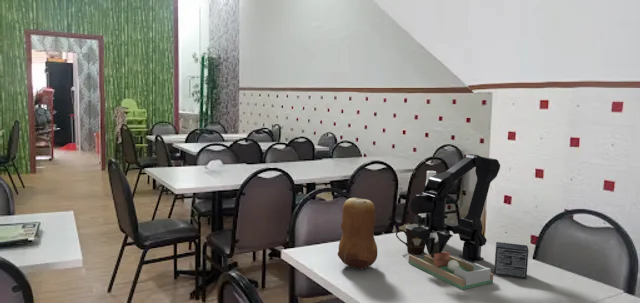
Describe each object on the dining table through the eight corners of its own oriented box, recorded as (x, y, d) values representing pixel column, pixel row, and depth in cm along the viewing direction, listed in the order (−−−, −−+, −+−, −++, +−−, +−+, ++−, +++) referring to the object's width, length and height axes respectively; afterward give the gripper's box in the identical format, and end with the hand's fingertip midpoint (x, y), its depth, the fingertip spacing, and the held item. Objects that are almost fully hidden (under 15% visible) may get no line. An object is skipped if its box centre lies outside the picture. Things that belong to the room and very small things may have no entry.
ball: (453, 268, 171) (453, 257, 171) (461, 272, 168) (462, 261, 167) (444, 270, 169) (445, 259, 169) (452, 274, 166) (453, 263, 166)
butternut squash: (369, 259, 181) (371, 194, 178) (382, 272, 168) (385, 202, 165) (333, 261, 178) (335, 195, 175) (343, 275, 165) (346, 203, 162)
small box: (525, 273, 172) (527, 244, 171) (526, 279, 166) (529, 250, 165) (493, 269, 175) (496, 240, 174) (494, 275, 169) (496, 246, 168)
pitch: (437, 257, 186) (437, 245, 185) (492, 282, 162) (493, 268, 162) (408, 262, 179) (408, 249, 178) (462, 289, 156) (463, 274, 155)
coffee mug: (429, 251, 193) (431, 227, 192) (422, 257, 186) (423, 231, 185) (402, 246, 199) (403, 222, 198) (394, 251, 192) (395, 226, 191)
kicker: (434, 258, 181) (435, 240, 180) (449, 264, 174) (450, 245, 174) (422, 260, 178) (423, 242, 177) (436, 267, 172) (437, 248, 171)
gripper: (440, 204, 186) (438, 244, 188) (402, 208, 177) (400, 250, 179) (462, 211, 177) (459, 252, 178) (422, 216, 168) (420, 259, 169)
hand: (434, 253), depth 177 cm, fingers open, 4 cm apart
